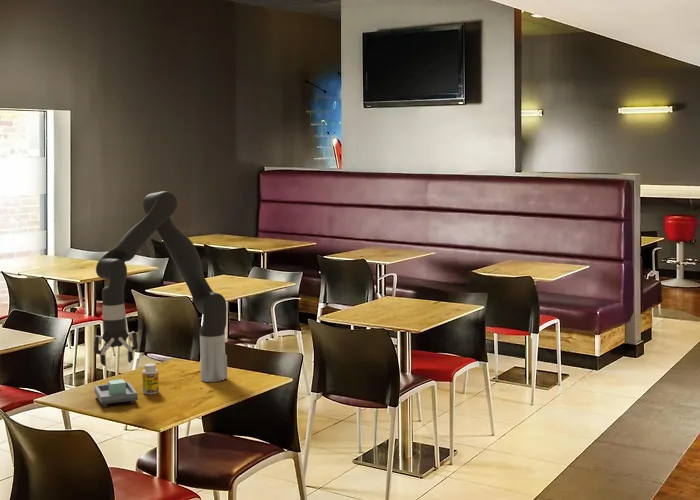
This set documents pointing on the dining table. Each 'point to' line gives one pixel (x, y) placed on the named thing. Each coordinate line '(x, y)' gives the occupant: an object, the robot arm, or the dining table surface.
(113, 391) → the teal block
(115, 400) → the tray
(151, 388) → the supplement bottle
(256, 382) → the dining table surface
